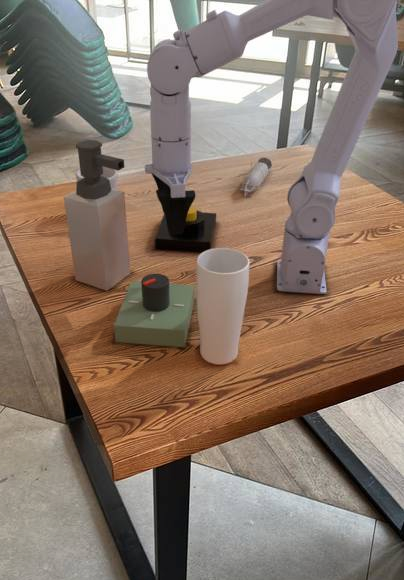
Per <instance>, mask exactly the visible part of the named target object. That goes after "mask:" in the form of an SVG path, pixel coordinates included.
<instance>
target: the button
mask: <svg viewBox="0 0 404 580" xmlns="http://www.w3.org/2000/svg"><path fill="white" fill-rule="evenodd" d="M197 211H198V209H197V208H196V207H195V206H193V205H191V206H190V209H189V211H188V214H187V218H186V221H188V222H189V221H194V220H196V219H197Z"/></svg>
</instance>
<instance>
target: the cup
mask: <svg viewBox="0 0 404 580" xmlns="http://www.w3.org/2000/svg"><path fill="white" fill-rule="evenodd" d="M118 173H119V172H118V170H114V169H110V168H107V167H103V174H102V175H101V176H103V177H105V178H107V179H109V182H110V186H111V188H113V189H117V190H118V181H119V180H118V175H119V174H118ZM82 178H84V177H83V176H81V172H80V169H78V170H77V171H76V173H75V179H76V183H77V182H78V181H79V180H81V179H82Z"/></svg>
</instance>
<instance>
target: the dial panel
mask: <svg viewBox="0 0 404 580" xmlns="http://www.w3.org/2000/svg"><path fill="white" fill-rule="evenodd" d="M169 293H170V305H169V307H168V308H166V309H165V310H162V311H149V310H147V309H145V308H144V307H143V302H142V285H141V281H138V280H131V281H130V283H129V285H128V288H127V291H126V292H125V296H124V298H123V301H122V304H121V306H120V308H119V311H118V314H117V316H116V318H115V321H114V324H113V329H114V338H115V343H124V344H135V345H137V344H138V345H149V346H162V347H173V348H174V347H175V348H185V347H186V343H187V338H188V332H189V329H190V323H191V320H192V319H191V318H192V314H193V310H194V304H195V285H194V284H181V283H169Z"/></svg>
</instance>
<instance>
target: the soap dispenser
mask: <svg viewBox="0 0 404 580" xmlns="http://www.w3.org/2000/svg"><path fill="white" fill-rule="evenodd" d="M102 147H103V142H101V141H99V140H96V139H95V140H94V139H85V140H82V141H79V142H77V143H76V144H75V148H76V149H77V153H78V162H79V170H80V172H81V176H83V177H84V178H82V179H81V180H79V181H78V182H77V181H76V186H75V188H76V189H75V190H74V191H72V192H70V193H68V194H66V195H64V196H63V201H64V209H65V216H66V224H67V229H68V236H69V244H70V250H71V257H72V264H73V270H74V278H75V279H74V280H75V281H78V282H81V283H83V284H86V285H89V286H93V287H95V288H98V289H100V290H103V291H109V290H110V289H111V288H113V287H114V286H116V285H117V284H118V283H119V282H121V281H122V280H124V279H125V278H126V277H128V276H129V275H131V262H130V251H129V249H130V248H129V237H128V235H129V234H128V223H127V210H126V209H127V208H126V196H125V195H126V194H125V190H121V189H118V188H117V189H113V188H111V186H110V182H109V179H107V178H105V177H103V176H101V175H102V174H103V167H107V168H110V169H114V170H116V171H120V170H122V169H125V159H124V158H121V157H120V158H119V157H115V156H110V155H106V154H102Z"/></svg>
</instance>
